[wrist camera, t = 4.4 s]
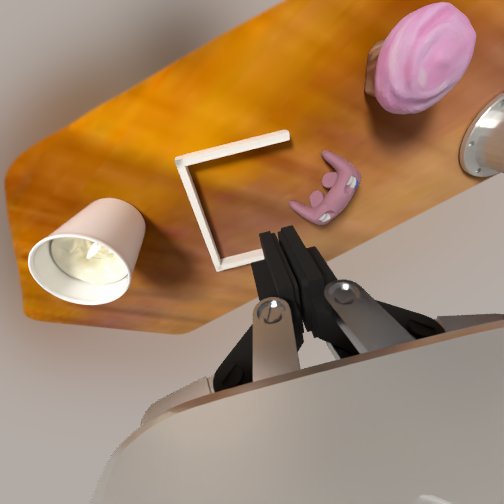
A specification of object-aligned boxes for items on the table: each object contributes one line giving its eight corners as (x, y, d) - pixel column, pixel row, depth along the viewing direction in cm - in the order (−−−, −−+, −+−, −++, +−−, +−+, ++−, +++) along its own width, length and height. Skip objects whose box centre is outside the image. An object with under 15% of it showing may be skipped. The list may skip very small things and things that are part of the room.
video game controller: (300, 209, 41) (328, 234, 37) (284, 204, 38) (313, 231, 34) (337, 155, 37) (373, 177, 33) (322, 144, 33) (361, 167, 30)
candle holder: (79, 182, 32) (21, 224, 22) (155, 203, 35) (134, 247, 25) (79, 242, 37) (32, 298, 27) (147, 255, 40) (126, 310, 30)
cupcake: (350, 29, 27) (410, 4, 19) (424, 12, 27) (515, -21, 19) (347, 117, 32) (393, 126, 24) (409, 102, 32) (476, 107, 24)
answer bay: (284, 129, 32) (288, 131, 30) (297, 244, 43) (300, 250, 41) (176, 156, 32) (174, 160, 30) (216, 264, 43) (216, 271, 41)
